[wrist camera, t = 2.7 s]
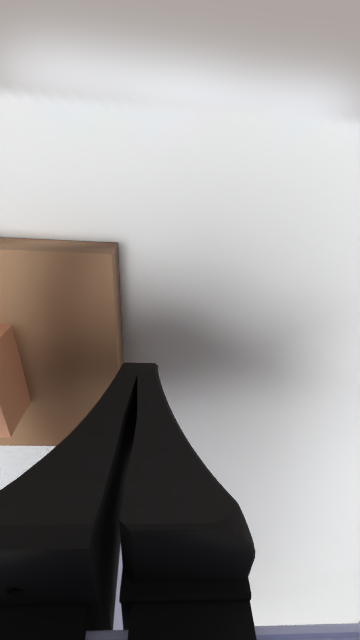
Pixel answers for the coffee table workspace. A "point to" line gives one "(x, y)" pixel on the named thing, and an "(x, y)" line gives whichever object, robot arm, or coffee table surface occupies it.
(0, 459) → the coffee table surface
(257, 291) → the coffee table surface
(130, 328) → the coffee table surface
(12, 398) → the terracotta tile
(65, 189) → the coffee table surface
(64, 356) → the brown wooden board
